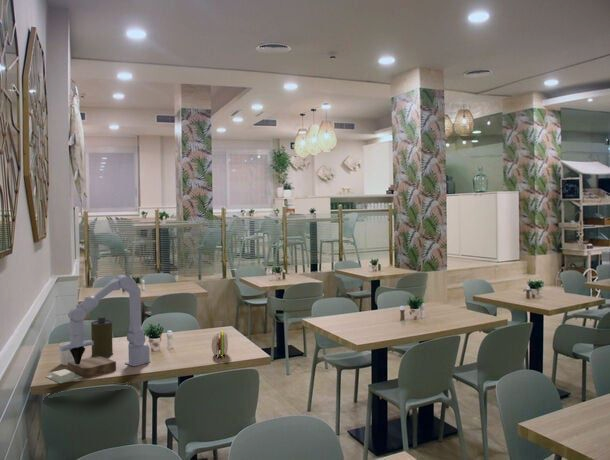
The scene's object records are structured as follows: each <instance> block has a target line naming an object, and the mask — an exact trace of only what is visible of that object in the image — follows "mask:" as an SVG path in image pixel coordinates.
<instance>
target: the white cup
mask: <svg viewBox="0 0 610 460" xmlns="http://www.w3.org/2000/svg"><path fill="white" fill-rule="evenodd" d="M68 344H70V341H62V342H61V343H59V348H60V347H61V346H65V345H68ZM59 356H60V357H59V358H60V365H62V366H68V362H73V361H74V358H73V355H72V354H71V352H70V350H66V351H63V352H62V351H60V350H59Z"/></svg>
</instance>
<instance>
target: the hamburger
mask: <svg viewBox="0 0 610 460" xmlns="http://www.w3.org/2000/svg"><path fill="white" fill-rule="evenodd" d="M228 340H229V339H228V334H227V332H226V331H224V329H222V330H221V332H220V334H219V332H217V331H216V332H214V334H213V336H212V338H211V351H212V354H213V355H214V356H215V357H216V359H217V358H218V357H219V355H222V356H221V358H222V357H223V358H224V357H226V356H227V355H228V350H229V341H228ZM216 355H217V356H216ZM223 355H224V356H223ZM219 358H220V357H219Z"/></svg>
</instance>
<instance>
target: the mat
mask: <svg viewBox="0 0 610 460" xmlns="http://www.w3.org/2000/svg"><path fill="white" fill-rule="evenodd" d="M45 378H47V379H50V380H52V381H53V382H56V383H58V384H64V383H68V382H71V381H75V380H79V379H83V378H84V377H82V376H79V375H77V374H75V377H74V378H70V379H66V380H62V381H61V380H58V379H56V378H54V377H52V374H50V375H46V376H45Z"/></svg>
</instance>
